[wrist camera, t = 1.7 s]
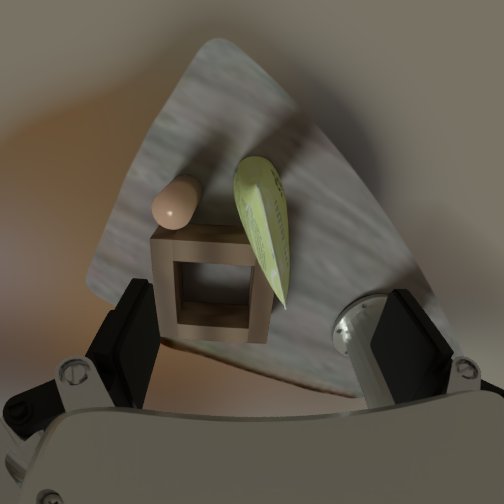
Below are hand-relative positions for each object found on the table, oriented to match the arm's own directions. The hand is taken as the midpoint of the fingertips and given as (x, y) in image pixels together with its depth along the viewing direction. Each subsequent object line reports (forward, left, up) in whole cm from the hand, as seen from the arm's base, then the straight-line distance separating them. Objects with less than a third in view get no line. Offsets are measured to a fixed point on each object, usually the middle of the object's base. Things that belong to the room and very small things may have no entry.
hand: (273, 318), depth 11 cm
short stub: (+8, +2, -24) cm, 26 cm away
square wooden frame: (+4, +13, -24) cm, 28 cm away
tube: (0, 0, -24) cm, 25 cm away
